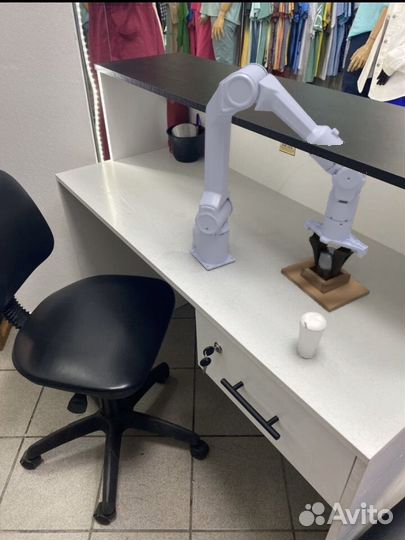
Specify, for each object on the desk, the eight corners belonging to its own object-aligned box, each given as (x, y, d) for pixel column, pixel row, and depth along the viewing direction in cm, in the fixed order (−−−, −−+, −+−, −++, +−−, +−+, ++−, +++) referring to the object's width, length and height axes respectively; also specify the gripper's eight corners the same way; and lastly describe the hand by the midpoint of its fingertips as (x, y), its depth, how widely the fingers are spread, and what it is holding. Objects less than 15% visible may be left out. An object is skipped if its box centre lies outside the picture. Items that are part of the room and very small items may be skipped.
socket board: (280, 272, 93) (282, 260, 91) (318, 258, 98) (320, 246, 95) (328, 312, 82) (332, 299, 80) (368, 294, 87) (372, 281, 84)
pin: (312, 272, 88) (317, 250, 85) (323, 266, 90) (328, 244, 87) (326, 281, 86) (332, 259, 82) (338, 274, 88) (343, 252, 84)
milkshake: (286, 354, 73) (293, 315, 67) (302, 339, 76) (311, 301, 70) (307, 368, 70) (316, 329, 64) (322, 352, 73) (333, 313, 67)
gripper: (298, 207, 81) (290, 259, 90) (359, 236, 72) (343, 291, 81) (320, 197, 85) (309, 249, 93) (380, 224, 76) (362, 278, 84)
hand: (326, 268), depth 87 cm, fingers closed on pin, 4 cm apart
